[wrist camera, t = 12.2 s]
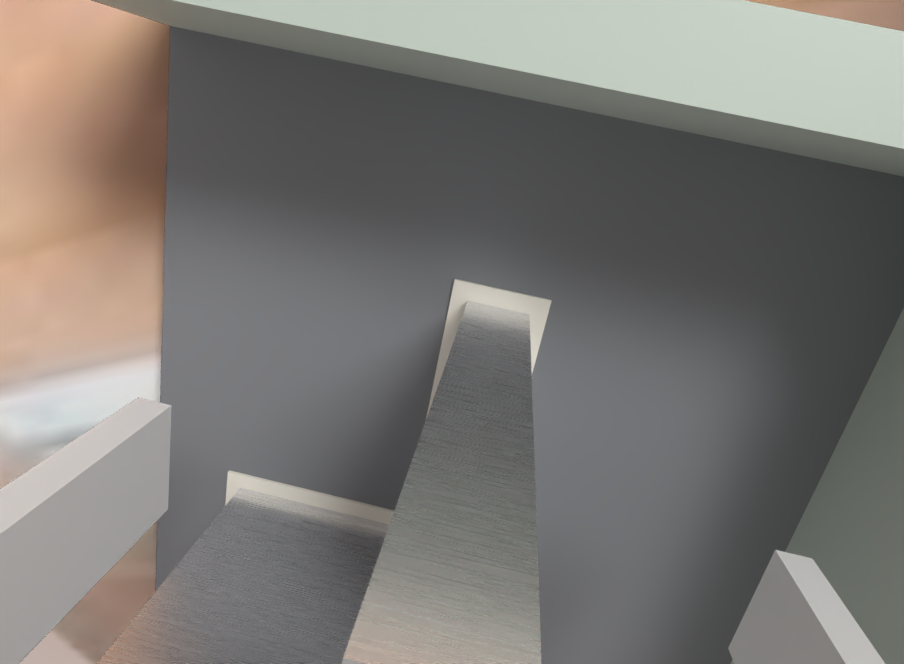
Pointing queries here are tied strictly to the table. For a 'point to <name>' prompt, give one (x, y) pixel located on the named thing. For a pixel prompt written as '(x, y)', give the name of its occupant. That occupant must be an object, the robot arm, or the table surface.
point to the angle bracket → (380, 546)
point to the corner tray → (552, 285)
